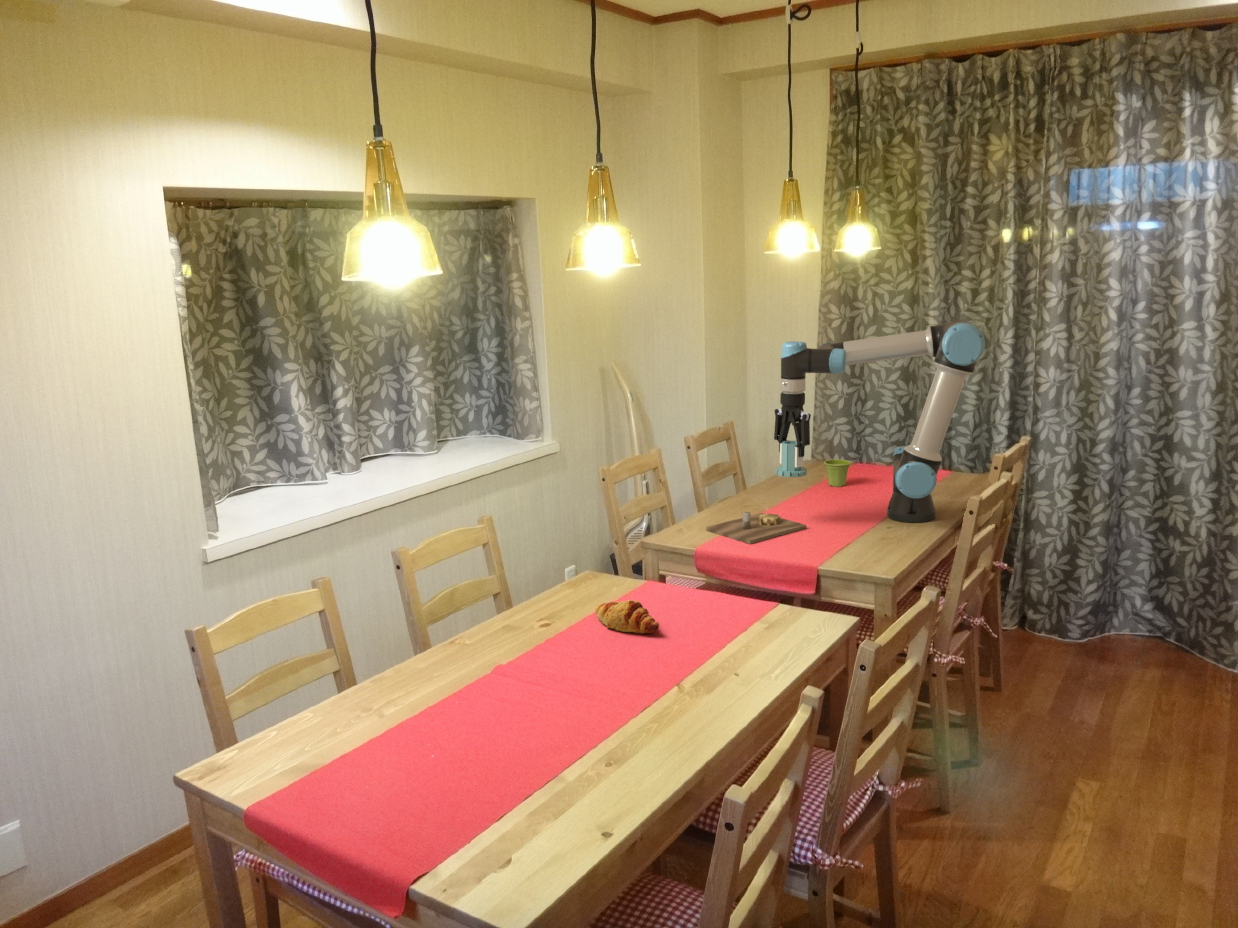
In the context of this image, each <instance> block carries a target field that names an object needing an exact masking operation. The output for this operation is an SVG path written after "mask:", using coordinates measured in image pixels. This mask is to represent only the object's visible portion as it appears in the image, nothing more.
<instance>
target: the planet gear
mask: <svg viewBox="0 0 1238 928" xmlns="http://www.w3.org/2000/svg"><path fill="white" fill-rule="evenodd" d="M801 443H802V442H801ZM796 446H797V441H796V440H788V441H783V442H782V464H781V465H780V466H777V467H776V468H775V471H774V472H775V473H774V474H775V475H776V476H779V477H784V478H798V477H799V478H800V477H805V476H807V475H808V469H807V468H806V467H804V466H803V467H798V468H796V467H795V447H796Z"/></svg>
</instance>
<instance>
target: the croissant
mask: <svg viewBox="0 0 1238 928" xmlns="http://www.w3.org/2000/svg"><path fill="white" fill-rule="evenodd" d="M595 614H596V615H597V618H598V619H599V621H600V622H601V623H602V624H603V625H605V626H606V628H607V629H612V630H615V631H618V632H624V633H635V634H650V633H653V632H656V631H657V630H658V629H659V628H660V623H659V622H658V621H656V619H655V618H653V616H651V615H650V613H649V611H648V609H647V608H645V607H644V606H643V605H642V603H641V602H640V601H638V600H635V599H629V600H623V601H610V602H608V603H607V602H604V603H601V604H598V605H597V606H596V607H595Z"/></svg>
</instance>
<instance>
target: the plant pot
mask: <svg viewBox="0 0 1238 928" xmlns="http://www.w3.org/2000/svg"><path fill="white" fill-rule="evenodd" d="M823 463H824V464H825V469H826V474H827V482H828V485H829V486H830V487H831V486H832V487H834V488H836V487H839V488H840V487H841V488H842V487H844V486H846V484H847V477H848V471H849V467H850V465H851V463H852V462H851V461H850V460H846V459H837V458H836V459H827V460H825V461H824V462H823Z"/></svg>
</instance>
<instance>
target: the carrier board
mask: <svg viewBox="0 0 1238 928" xmlns="http://www.w3.org/2000/svg"><path fill="white" fill-rule="evenodd" d="M705 529H706V532H710V533H713V534H715V535H720V536H722V537H726V538H728V537H729V539H732V540H736V541H738V542H741V541H742V543H744V542H745V543H744V544H747V543H748V544H749V545H753V544H756V543H759V542H758V541H760V542H762V540H763V541H766V539H767V540H769V538H770V539H773V538H772V537H774V538H776V537H775V536H778V537H780V536H779V535H781V536H784V534H785V535H787V534H791V533H795V531H796V532H800V531H801V530H805V529H806V530H807V524H804V523H800V522H797V521H793V520H789V519H785V518H782V517H781V516H780V515H779V514H777V513H774V514H773V513H769V512H768V513H765V512H759V513H756V514H751V512H748V511H744V512H742V517H740V518H736V519H732V520H728V521H725V522H720V523H715V524H713V525H709V526H706V527H705ZM755 542H756V543H755Z"/></svg>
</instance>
